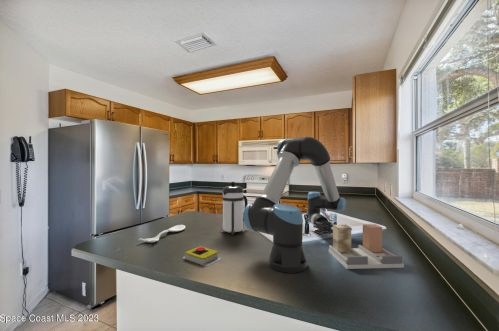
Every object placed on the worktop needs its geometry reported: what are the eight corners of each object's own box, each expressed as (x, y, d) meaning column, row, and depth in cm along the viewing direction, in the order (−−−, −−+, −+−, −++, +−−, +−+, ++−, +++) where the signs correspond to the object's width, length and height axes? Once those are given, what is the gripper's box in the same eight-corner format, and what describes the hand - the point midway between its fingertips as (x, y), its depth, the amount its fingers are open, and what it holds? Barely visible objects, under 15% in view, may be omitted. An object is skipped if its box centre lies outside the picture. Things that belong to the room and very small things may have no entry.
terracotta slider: (368, 252, 99) (369, 227, 99) (362, 248, 104) (362, 224, 104) (382, 252, 100) (382, 227, 100) (375, 248, 105) (375, 224, 105)
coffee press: (246, 236, 127) (247, 182, 127) (218, 236, 127) (218, 182, 127) (247, 227, 144) (247, 180, 144) (222, 227, 145) (222, 180, 144)
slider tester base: (346, 268, 87) (346, 257, 87) (328, 252, 104) (328, 242, 104) (403, 267, 89) (403, 256, 89) (376, 251, 106) (377, 241, 106)
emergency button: (198, 242, 105) (222, 249, 96) (198, 252, 105) (222, 259, 96) (181, 248, 97) (207, 256, 89) (181, 259, 97) (207, 268, 89)
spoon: (137, 245, 113) (137, 238, 113) (175, 228, 144) (175, 222, 144) (153, 247, 110) (153, 240, 110) (188, 229, 141) (188, 223, 141)
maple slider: (337, 253, 98) (337, 227, 98) (332, 248, 103) (333, 224, 103) (351, 252, 99) (351, 227, 99) (345, 248, 104) (345, 224, 104)
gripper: (330, 227, 130) (351, 241, 106) (308, 228, 129) (324, 242, 106) (330, 214, 130) (352, 225, 106) (308, 214, 129) (324, 226, 106)
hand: (338, 233), depth 106 cm, fingers closed
